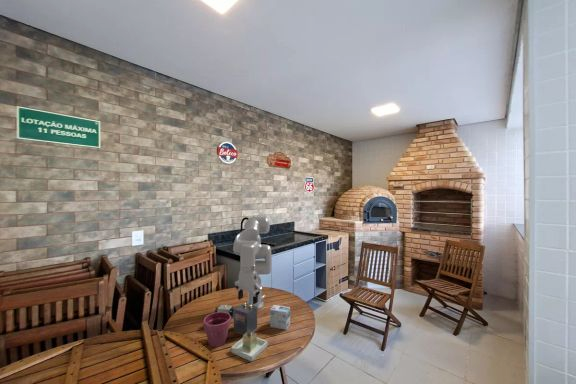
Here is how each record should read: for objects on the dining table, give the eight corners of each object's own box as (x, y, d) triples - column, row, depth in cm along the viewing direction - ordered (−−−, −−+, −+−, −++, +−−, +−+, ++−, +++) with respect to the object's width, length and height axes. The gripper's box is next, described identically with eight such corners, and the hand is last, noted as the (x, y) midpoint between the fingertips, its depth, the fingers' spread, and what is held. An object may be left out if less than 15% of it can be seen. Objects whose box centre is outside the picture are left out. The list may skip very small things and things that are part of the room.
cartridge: (248, 343, 129) (248, 328, 129) (256, 346, 126) (256, 331, 126) (242, 349, 125) (242, 333, 124) (250, 352, 122) (250, 336, 122)
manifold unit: (244, 323, 149) (244, 300, 148) (257, 328, 144) (257, 304, 143) (233, 331, 141) (233, 306, 140) (246, 336, 136) (246, 310, 135)
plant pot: (215, 331, 141) (215, 309, 141) (236, 337, 136) (236, 314, 135) (197, 346, 128) (197, 321, 127) (219, 353, 122) (219, 327, 122)
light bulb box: (290, 324, 148) (290, 306, 148) (286, 330, 142) (286, 312, 142) (274, 321, 152) (274, 304, 152) (269, 327, 145) (269, 309, 145)
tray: (248, 338, 135) (248, 333, 135) (267, 346, 128) (267, 341, 128) (230, 352, 123) (230, 347, 123) (251, 361, 116) (251, 356, 116)
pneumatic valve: (232, 328, 144) (232, 308, 144) (214, 326, 146) (214, 306, 146) (236, 323, 149) (236, 303, 149) (218, 321, 152) (218, 302, 151)
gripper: (265, 269, 125) (265, 301, 126) (239, 263, 134) (239, 294, 134) (256, 273, 119) (256, 308, 119) (230, 267, 127) (230, 299, 128)
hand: (247, 300), depth 127 cm, fingers open, 9 cm apart
